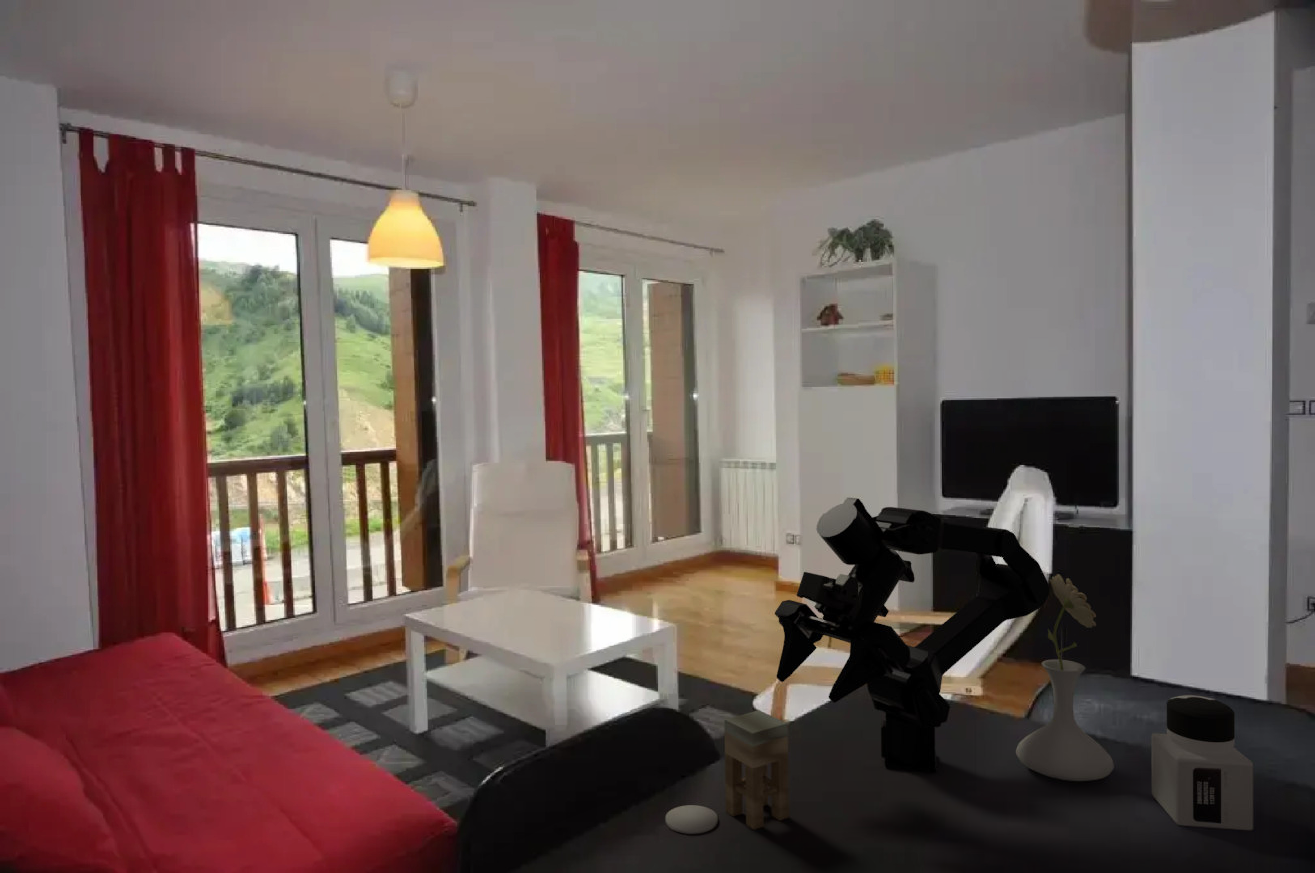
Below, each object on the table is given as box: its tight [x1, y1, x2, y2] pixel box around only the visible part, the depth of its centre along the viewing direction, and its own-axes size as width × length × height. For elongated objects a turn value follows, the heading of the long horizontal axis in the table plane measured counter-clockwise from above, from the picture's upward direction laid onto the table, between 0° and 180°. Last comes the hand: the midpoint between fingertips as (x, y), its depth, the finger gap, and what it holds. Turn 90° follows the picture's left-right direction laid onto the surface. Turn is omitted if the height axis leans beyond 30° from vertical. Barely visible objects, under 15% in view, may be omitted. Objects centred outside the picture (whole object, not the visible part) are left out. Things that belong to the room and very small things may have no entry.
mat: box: [665, 804, 719, 835], centre depth 96 cm, size 6×6×1 cm
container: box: [1150, 694, 1254, 831], centre depth 96 cm, size 8×8×13 cm
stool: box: [724, 710, 790, 831], centre depth 97 cm, size 5×5×11 cm
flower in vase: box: [1015, 573, 1115, 782], centre depth 108 cm, size 13×11×25 cm
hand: (804, 689), depth 101 cm, fingers open, 9 cm apart
